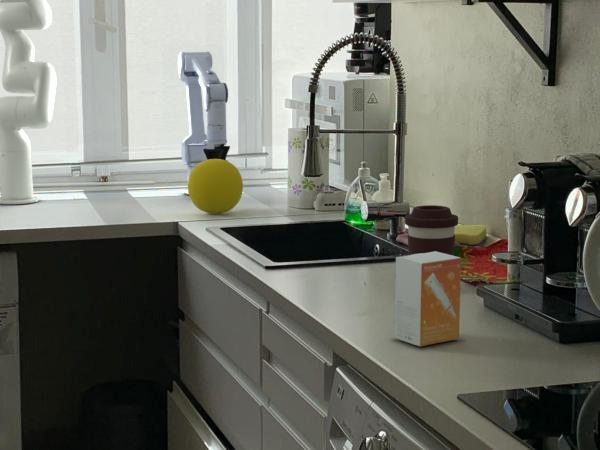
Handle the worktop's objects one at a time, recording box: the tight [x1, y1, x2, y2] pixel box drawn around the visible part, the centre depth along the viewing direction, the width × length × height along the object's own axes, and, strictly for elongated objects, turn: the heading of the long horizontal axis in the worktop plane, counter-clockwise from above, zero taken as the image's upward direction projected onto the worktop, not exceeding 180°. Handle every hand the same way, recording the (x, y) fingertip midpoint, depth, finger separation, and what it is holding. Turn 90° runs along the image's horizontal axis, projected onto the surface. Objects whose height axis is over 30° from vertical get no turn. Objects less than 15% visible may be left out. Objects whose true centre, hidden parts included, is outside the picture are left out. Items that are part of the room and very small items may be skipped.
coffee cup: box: [404, 204, 459, 256], centre depth 197 cm, size 10×10×15 cm
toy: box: [187, 159, 244, 215], centre depth 287 cm, size 15×15×15 cm
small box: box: [394, 251, 462, 347], centre depth 161 cm, size 8×6×13 cm
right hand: (217, 171), depth 306 cm, fingers closed on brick, 5 cm apart
